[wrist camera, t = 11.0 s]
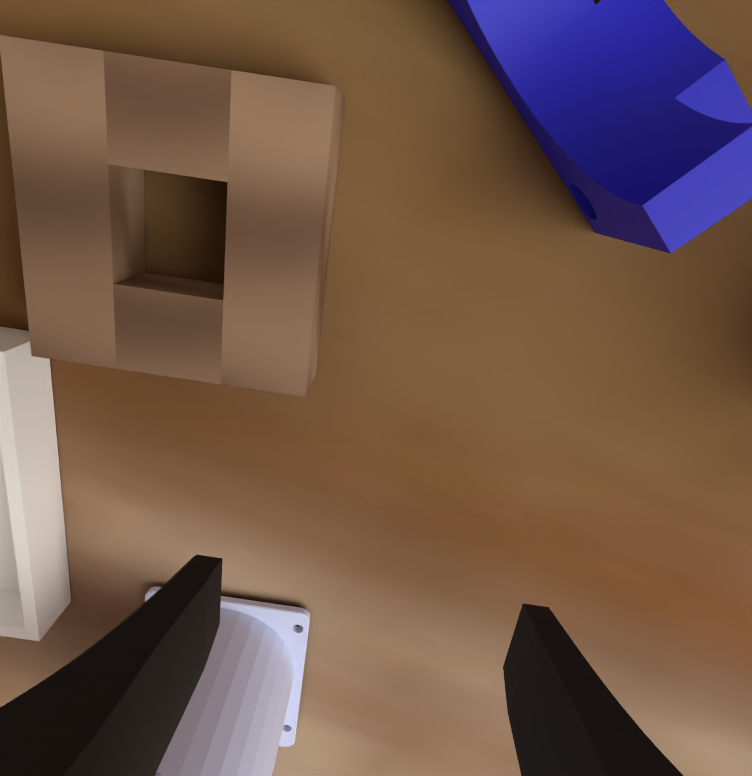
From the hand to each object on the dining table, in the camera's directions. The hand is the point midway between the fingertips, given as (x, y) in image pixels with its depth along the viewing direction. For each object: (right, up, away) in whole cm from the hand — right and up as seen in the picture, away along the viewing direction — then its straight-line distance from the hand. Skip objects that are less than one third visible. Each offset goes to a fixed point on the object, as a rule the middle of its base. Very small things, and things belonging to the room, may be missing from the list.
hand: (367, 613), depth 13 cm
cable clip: (+6, +17, +5) cm, 18 cm away
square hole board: (-6, +11, +7) cm, 15 cm away
